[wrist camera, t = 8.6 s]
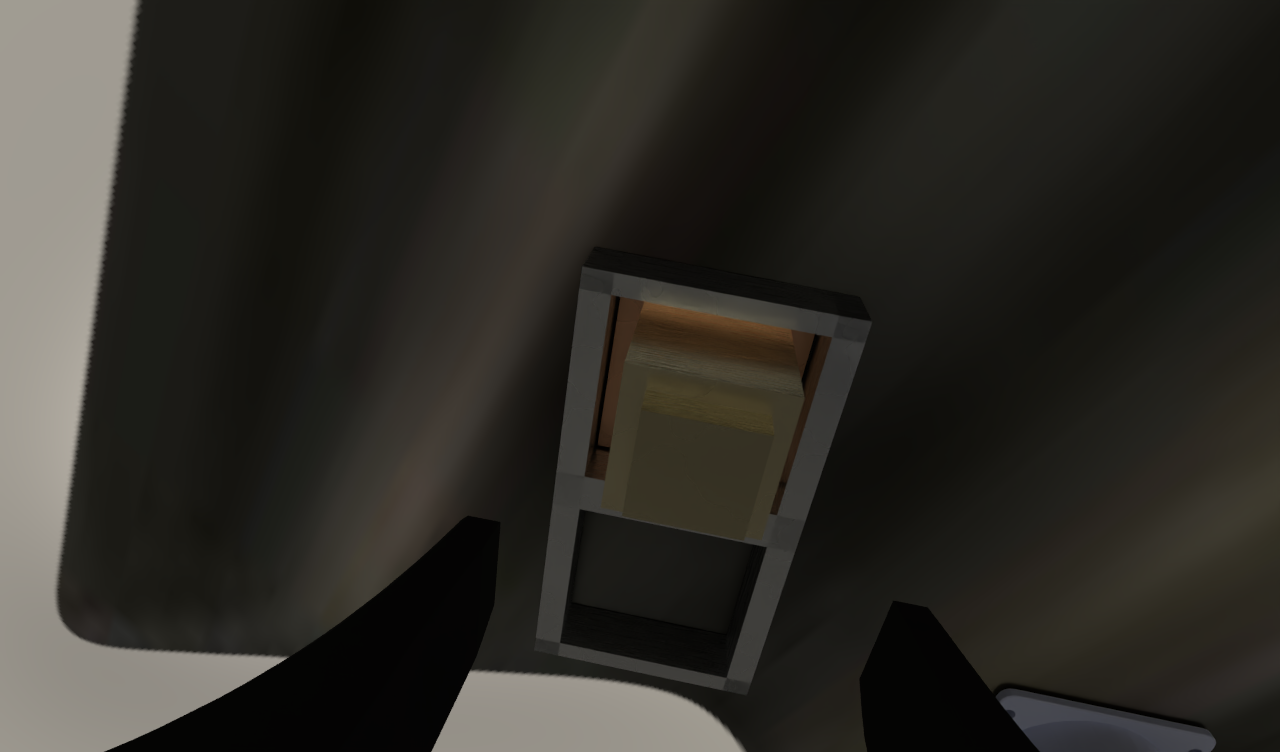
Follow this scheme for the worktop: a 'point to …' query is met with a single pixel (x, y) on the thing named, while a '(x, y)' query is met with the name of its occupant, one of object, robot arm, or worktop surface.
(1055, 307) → the worktop surface
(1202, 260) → the worktop surface
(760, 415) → the block
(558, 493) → the grey flat frame
